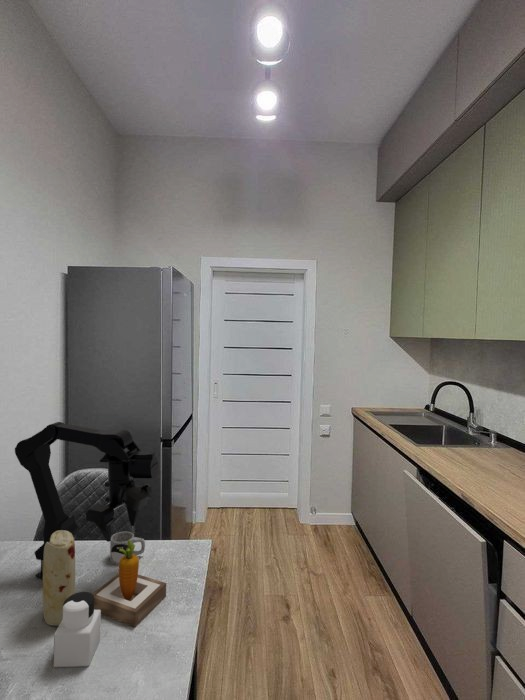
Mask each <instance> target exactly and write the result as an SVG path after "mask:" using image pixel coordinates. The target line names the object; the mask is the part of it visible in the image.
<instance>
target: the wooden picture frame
mask: <svg viewBox="0 0 525 700" xmlns="http://www.w3.org/2000/svg"><path fill="white" fill-rule="evenodd" d="M159 586H160V584H157V583H154V582H151V581H147V580H144V579H141V578H138V577H137V583H136V587H135V591H134V593H137V594H138V595H137V596H136V597H135V598H134V599H133V600H132V601H128V600H125V599H122V598H120V596H121V595H122V592H121V588H120V582H119V577H118V578H117V579H116V580H114V581H113V582H112V583H110V584H109V585H108V586H107V587H105V588H104V589H103V590H101V591H100V592H99V593H98V594H96V595H98V596H101V597H104V598H106V599H109V600H112V601H115V602H118V603H121V604H124V605H126V606H129V607H132V608H136V607H137V606H138V605H139V604H140V603H142V602H143V601H144V600H145V599H146V598H147V597H148V596H149V595H150V594H151V593H152V592H153V591H154V590H155V589H156V588H157V587H159Z"/></svg>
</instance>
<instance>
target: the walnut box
mask: <svg viewBox="0 0 525 700" xmlns="http://www.w3.org/2000/svg"><path fill="white" fill-rule="evenodd" d="M118 577H119V573H117V574H116V575H115V576H114V577H112V578H111V579H110V580H108V581H107V582H105V583H104V584H103V585H102V586H101V587H99V588H98V589H97V590H95V591H94V592H93V593H91V594H92V595H93V596H94V610H101V616H103V617H106V618H110V619H113V620H115V621H117V622H120V623H123V624H126V625H128V626H131V627H134V628H137V626H138V625H139V624H140V623H141V622H142V621H143V620H144V619H145V618H146V617H147V616H149V614H150V613H151V612H152V611H153V610H154V609H155V608H156V607H157V606H158V605H159V604H160V603H161V602H162V601H163V600H164V599H165V598H166V597H167V582H165V581H164V582H163V581H161V580H158V579H154V578H152V577H148V576H145V575H141V574H138V578H141V579H144V580H147V581H151V582H154V583H157V584H160V586H159V587H157V588H156V589H155V590H154V591H153V592H152V593H151V594H150V595H149V596H148V597H147V598H146V599H145V600H144V601H143V602H142V603H140V604H139V605H138V606H137V607H136V608H132V607H129V606H126V605H124V604H121V603H118V602H115V601H112V600H109V599H106V598H104V597H101V596H98V595H96V594H98V593H99V592H100V591H101V590H103V589H104V588H105V587H107V586H108V585H109V584H110V583H112V582H113V581H114V580H116V579H117V578H118ZM137 595H138V594H137V593H133V596H132V598H131V599H130V600H129V601H132V600H133V599H134V598H135V597H136V596H137ZM120 598H122V599H125V598H124V596H123V594H122V595H121V596H120Z"/></svg>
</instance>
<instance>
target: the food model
mask: <svg viewBox="0 0 525 700" xmlns="http://www.w3.org/2000/svg"><path fill="white" fill-rule="evenodd" d="M75 543H76V541H75V539H74V537H73V535H72V534H71V533H70V532H69V531H65V530H58V531H55V532H54V533H53V534H52V535H51V538H50V542H46V544H45V547H44V561H43V579H42V611H43V612H42V613H43V618H44V620H45V623H46V624H47V625H49V626H57V627H59V625H60V623H61V622H62V620H63V603H64V602H65V600H66V599H67V598H68V597H69V596H71V595H73V594H75V593H76V592H75V589H76V547H75V546H76V545H75Z"/></svg>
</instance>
